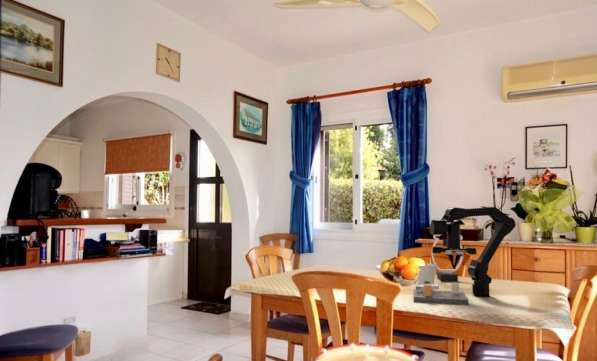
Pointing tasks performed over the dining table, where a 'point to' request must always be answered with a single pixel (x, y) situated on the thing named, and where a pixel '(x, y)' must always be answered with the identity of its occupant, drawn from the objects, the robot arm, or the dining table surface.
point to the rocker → (421, 287)
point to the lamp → (447, 273)
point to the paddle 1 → (427, 290)
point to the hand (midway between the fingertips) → (454, 269)
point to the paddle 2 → (455, 287)
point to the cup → (426, 274)
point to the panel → (440, 297)
